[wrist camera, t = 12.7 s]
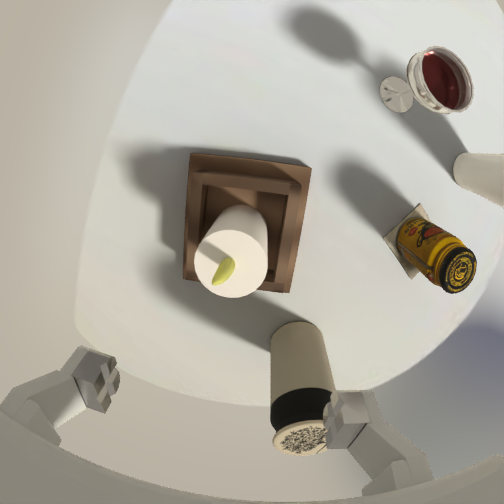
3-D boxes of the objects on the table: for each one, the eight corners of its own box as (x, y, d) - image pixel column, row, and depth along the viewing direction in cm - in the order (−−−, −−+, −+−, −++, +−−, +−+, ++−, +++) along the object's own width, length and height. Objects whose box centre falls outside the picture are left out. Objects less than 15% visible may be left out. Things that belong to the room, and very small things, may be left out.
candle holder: (193, 153, 32) (181, 154, 28) (309, 167, 32) (317, 170, 28) (185, 273, 38) (175, 291, 33) (288, 287, 38) (291, 307, 33)
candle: (249, 265, 35) (238, 341, 21) (205, 236, 34) (165, 298, 20) (279, 224, 33) (288, 283, 19) (233, 193, 32) (207, 231, 18)
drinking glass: (440, 174, 31) (515, 196, 17) (459, 137, 29) (535, 145, 15) (466, 202, 32) (536, 233, 18) (484, 167, 30) (555, 186, 16)
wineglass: (375, 116, 29) (423, 106, 18) (370, 66, 27) (413, 37, 16) (420, 122, 29) (477, 119, 18) (416, 74, 27) (468, 55, 15)
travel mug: (261, 349, 42) (256, 449, 25) (288, 312, 39) (297, 414, 23) (304, 366, 43) (315, 460, 26) (332, 332, 40) (360, 428, 24)
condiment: (419, 203, 33) (472, 229, 22) (444, 246, 35) (492, 282, 24) (382, 237, 35) (424, 276, 24) (410, 278, 37) (450, 323, 26)
